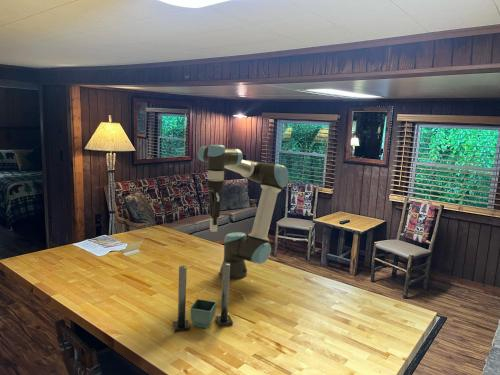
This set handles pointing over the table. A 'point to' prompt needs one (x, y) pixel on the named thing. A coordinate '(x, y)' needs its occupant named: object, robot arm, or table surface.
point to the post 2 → (224, 298)
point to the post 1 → (181, 303)
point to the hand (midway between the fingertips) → (213, 230)
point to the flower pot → (202, 312)
